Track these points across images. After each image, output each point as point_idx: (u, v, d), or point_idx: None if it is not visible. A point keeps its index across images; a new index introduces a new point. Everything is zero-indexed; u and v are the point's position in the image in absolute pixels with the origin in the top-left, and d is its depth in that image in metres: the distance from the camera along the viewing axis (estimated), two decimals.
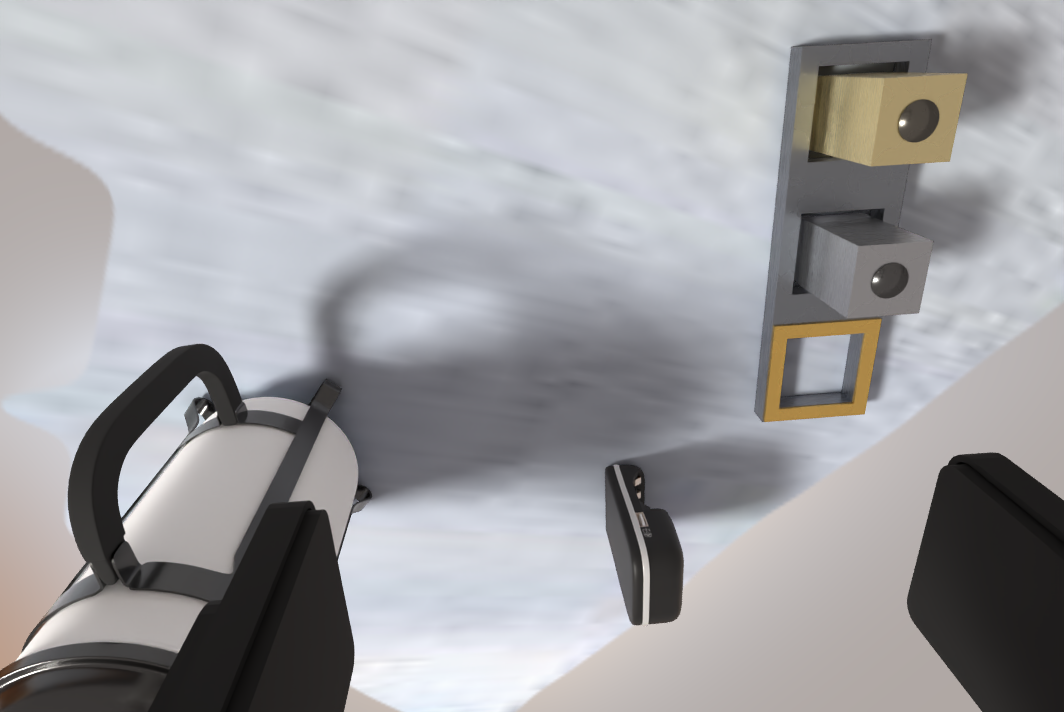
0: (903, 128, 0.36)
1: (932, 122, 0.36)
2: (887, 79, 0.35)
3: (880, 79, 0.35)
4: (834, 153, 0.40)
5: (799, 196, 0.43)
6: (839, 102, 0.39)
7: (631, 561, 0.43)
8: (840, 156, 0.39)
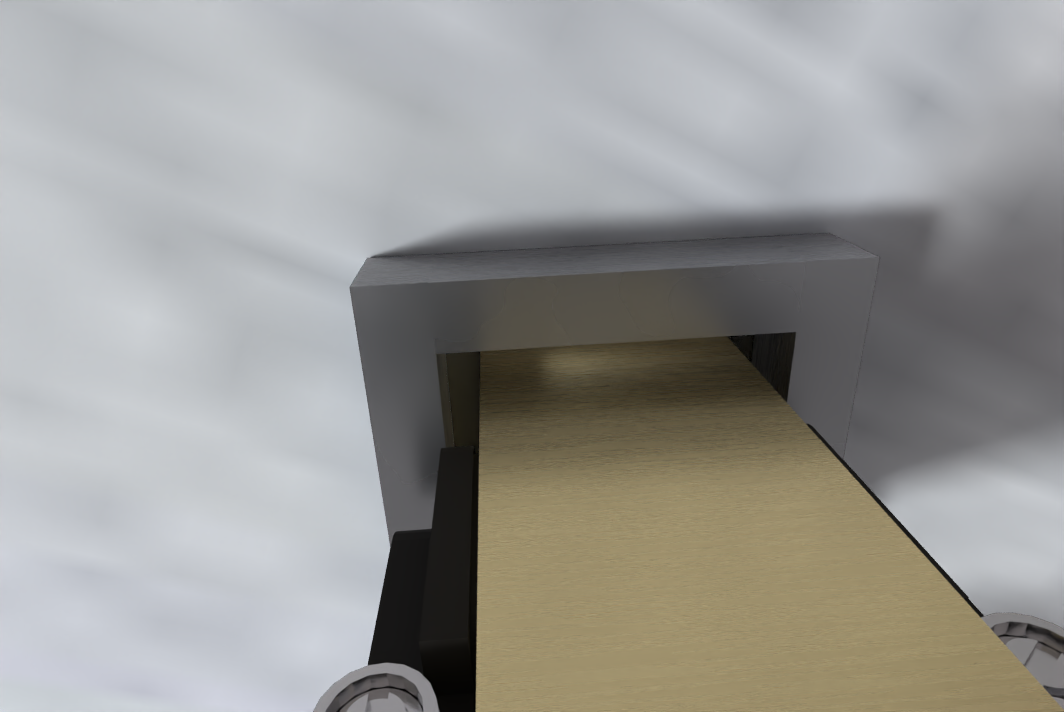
0: None
1: None
2: None
3: None
4: None
5: None
6: None
7: None
8: None
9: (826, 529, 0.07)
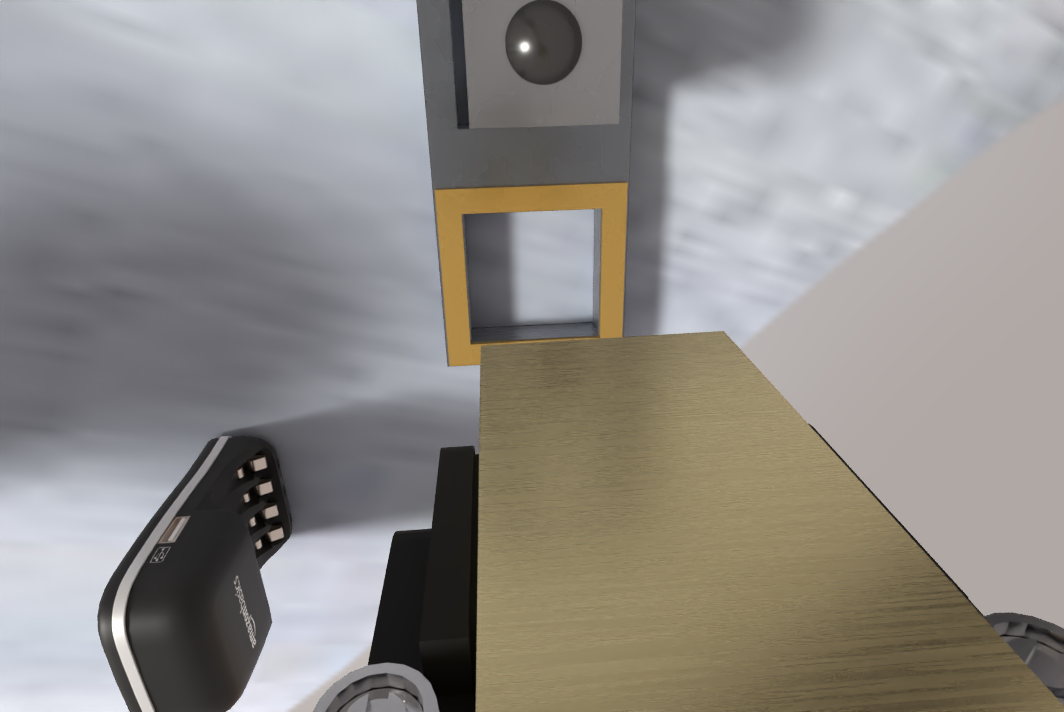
0: None
1: None
2: None
3: None
4: None
5: None
6: None
7: None
8: None
9: (824, 524, 0.07)
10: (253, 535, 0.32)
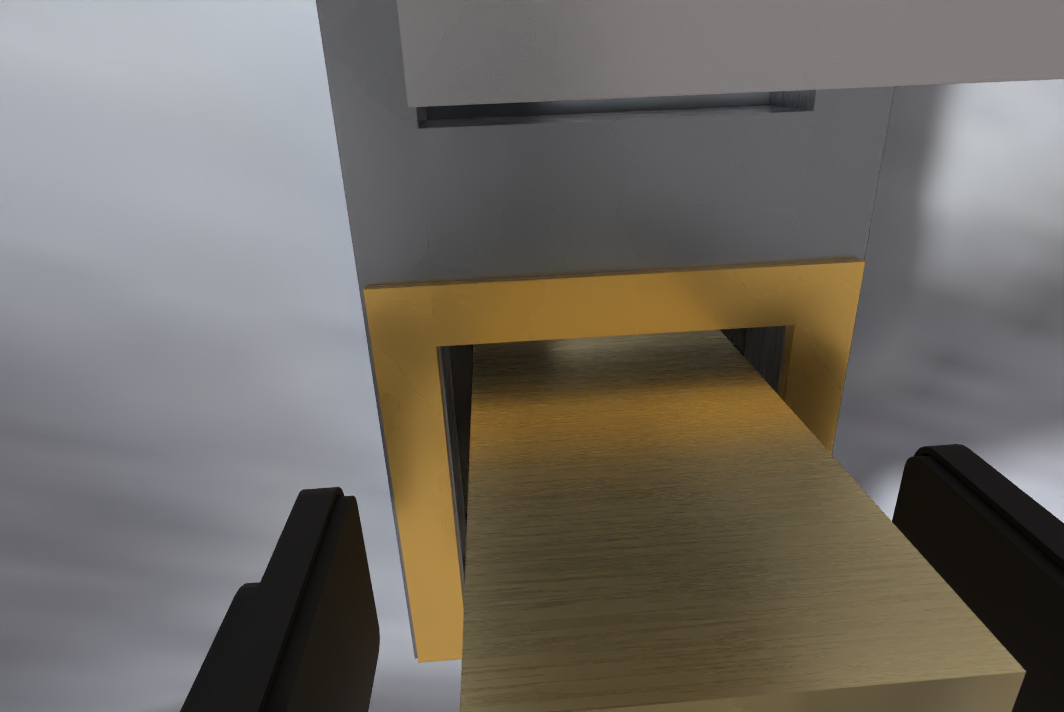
0: None
1: None
2: None
3: (463, 683, 0.05)
4: None
5: None
6: None
7: None
8: None
9: (796, 494, 0.07)
10: None
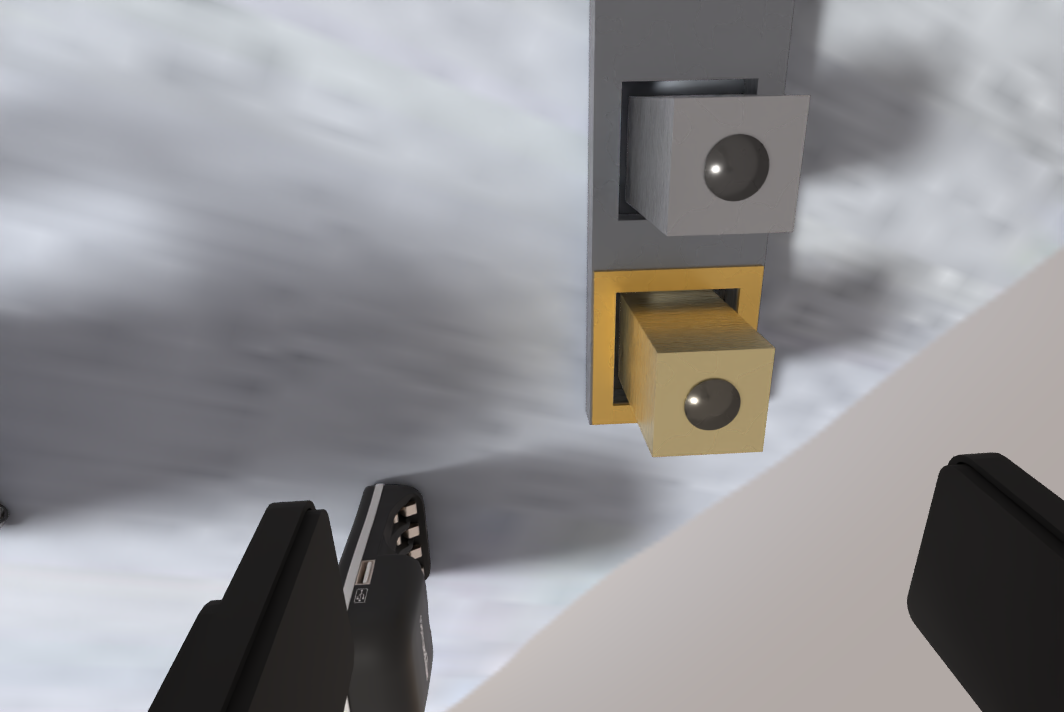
0: (692, 413, 0.26)
1: (731, 407, 0.26)
2: (661, 354, 0.25)
3: (655, 351, 0.25)
4: (632, 406, 0.30)
5: (616, 50, 0.27)
6: (633, 345, 0.29)
7: None
8: (635, 415, 0.29)
9: (733, 327, 0.27)
10: None
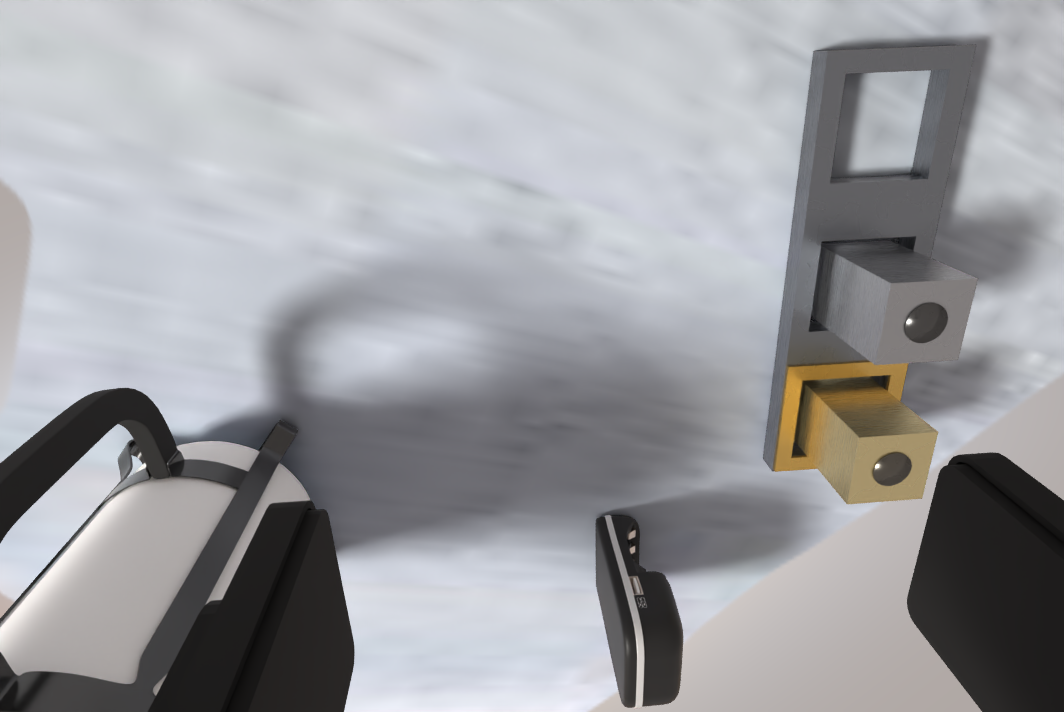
0: (877, 475, 0.38)
1: (905, 470, 0.37)
2: (862, 438, 0.36)
3: (855, 435, 0.37)
4: (814, 461, 0.42)
5: (819, 221, 0.38)
6: (818, 420, 0.41)
7: (623, 638, 0.38)
8: (819, 469, 0.41)
9: (899, 411, 0.39)
10: None
